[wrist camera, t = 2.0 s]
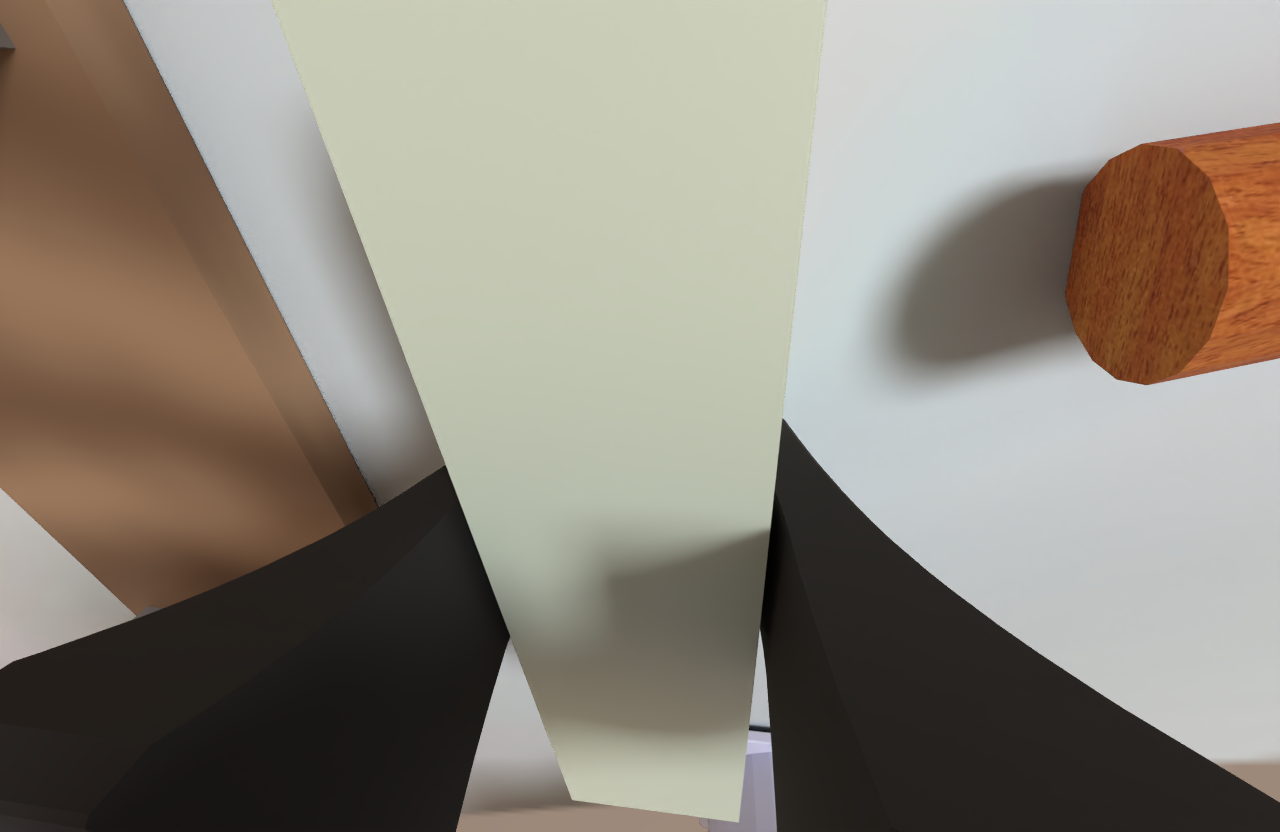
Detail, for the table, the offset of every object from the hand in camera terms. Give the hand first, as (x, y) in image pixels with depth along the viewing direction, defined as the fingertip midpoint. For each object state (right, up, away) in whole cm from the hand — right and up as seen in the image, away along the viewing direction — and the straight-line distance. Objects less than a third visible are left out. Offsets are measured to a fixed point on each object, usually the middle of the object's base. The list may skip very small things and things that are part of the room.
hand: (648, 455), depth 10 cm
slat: (0, +1, +1) cm, 2 cm away
